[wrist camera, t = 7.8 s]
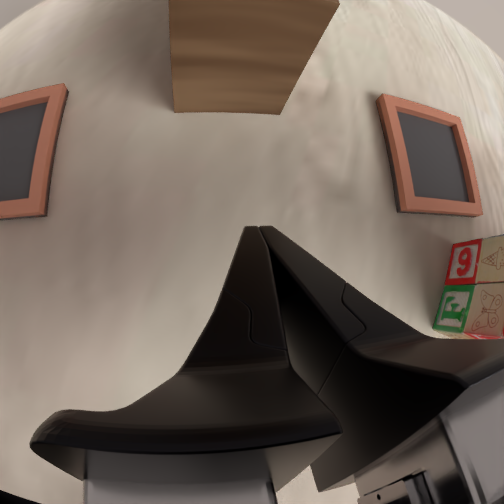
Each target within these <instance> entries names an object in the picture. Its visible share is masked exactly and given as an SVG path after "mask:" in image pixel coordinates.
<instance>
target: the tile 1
mask: <svg viewBox="0 0 504 504" xmlns="http://www.w3.org/2000/svg"><path fill="white" fill-rule="evenodd" d="M68 93H69V91H68V89H67V88H66V86H65V84H64V83H62V84H57V85H53V86H48V87H43V88H39V89H35V90H31V91H27V92H23V93H19V94H15V95H12V96H8V97H5V98H2V99H0V220H9V219H20V218H32V217H44V216H47V210H48V200H49V191H50V183H51V175H52V168H53V162H54V156H55V150H56V145H57V140H58V135H59V130H60V125H61V121H62V117H63V113H64V108H65V105H66V101H67V97H68Z"/></svg>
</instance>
